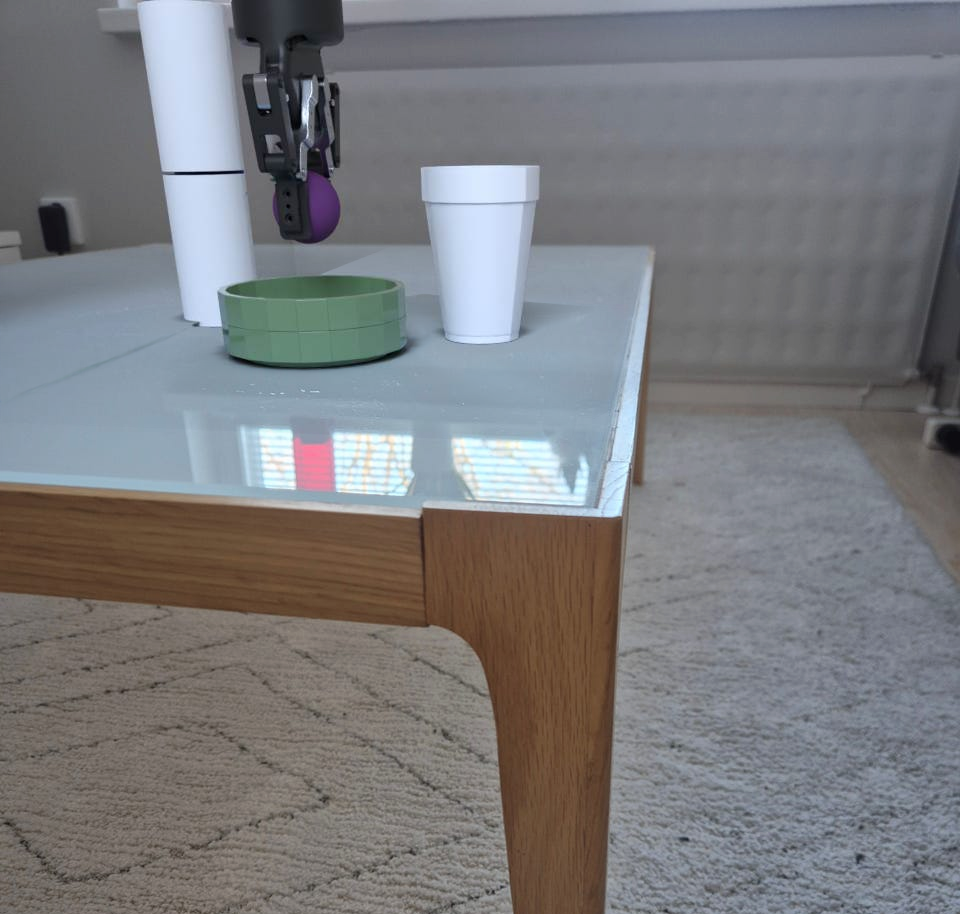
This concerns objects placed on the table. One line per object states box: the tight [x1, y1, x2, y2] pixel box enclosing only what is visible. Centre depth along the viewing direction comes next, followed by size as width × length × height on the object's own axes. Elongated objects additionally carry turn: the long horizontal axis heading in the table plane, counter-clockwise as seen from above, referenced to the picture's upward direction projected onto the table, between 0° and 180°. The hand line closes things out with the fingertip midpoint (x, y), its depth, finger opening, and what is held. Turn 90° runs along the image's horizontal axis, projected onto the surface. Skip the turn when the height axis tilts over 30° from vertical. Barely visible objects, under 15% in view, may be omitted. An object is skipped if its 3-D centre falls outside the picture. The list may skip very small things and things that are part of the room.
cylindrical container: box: [136, 0, 258, 328], centre depth 84 cm, size 7×7×25 cm
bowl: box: [217, 274, 408, 369], centre depth 74 cm, size 14×14×5 cm
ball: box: [272, 171, 341, 245], centre depth 70 cm, size 5×5×5 cm
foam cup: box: [420, 164, 541, 345], centre depth 77 cm, size 10×9×13 cm
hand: (308, 234), depth 71 cm, fingers closed on ball, 5 cm apart
